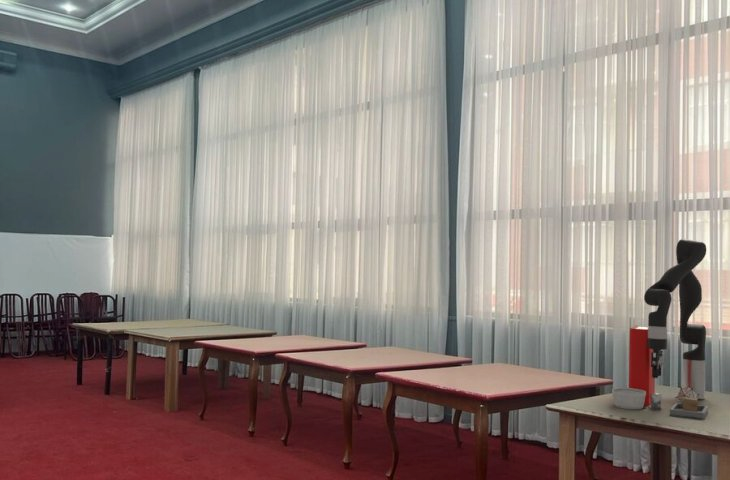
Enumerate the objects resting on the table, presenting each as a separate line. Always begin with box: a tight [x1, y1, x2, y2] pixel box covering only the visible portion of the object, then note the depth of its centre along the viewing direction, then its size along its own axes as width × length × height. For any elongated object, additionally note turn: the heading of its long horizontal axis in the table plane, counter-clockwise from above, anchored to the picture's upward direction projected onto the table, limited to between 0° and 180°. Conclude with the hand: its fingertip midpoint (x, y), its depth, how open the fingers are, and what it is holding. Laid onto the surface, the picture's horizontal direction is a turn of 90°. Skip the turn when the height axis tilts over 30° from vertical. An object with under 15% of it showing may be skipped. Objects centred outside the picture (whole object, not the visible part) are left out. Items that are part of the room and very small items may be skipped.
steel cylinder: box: [650, 392, 662, 410], centre depth 293 cm, size 4×4×6 cm
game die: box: [675, 386, 700, 403], centre depth 303 cm, size 9×8×10 cm
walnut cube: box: [683, 397, 699, 412], centre depth 286 cm, size 5×5×5 cm
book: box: [628, 324, 656, 407], centre depth 312 cm, size 27×8×32 cm, turn 153°
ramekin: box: [611, 387, 646, 410], centre depth 295 cm, size 13×13×7 cm
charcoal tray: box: [669, 402, 709, 421], centre depth 283 cm, size 18×12×2 cm, turn 149°
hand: (656, 376), depth 293 cm, fingers open, 8 cm apart
